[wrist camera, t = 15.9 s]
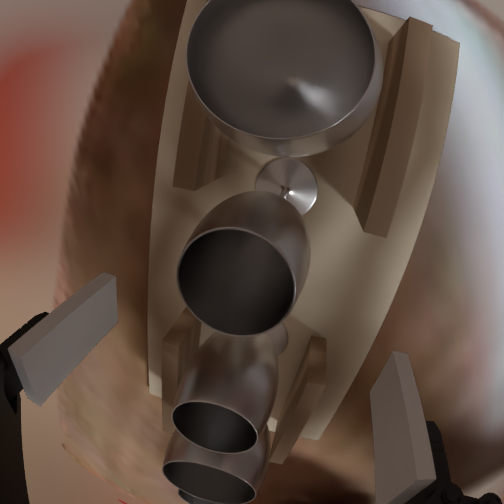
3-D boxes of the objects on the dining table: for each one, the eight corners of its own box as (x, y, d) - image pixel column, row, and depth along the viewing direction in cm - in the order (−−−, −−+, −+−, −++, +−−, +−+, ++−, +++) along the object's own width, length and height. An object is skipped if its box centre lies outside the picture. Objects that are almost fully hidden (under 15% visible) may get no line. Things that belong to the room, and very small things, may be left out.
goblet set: (274, 408, 27) (244, 536, 15) (214, 393, 27) (162, 513, 15) (356, 64, 16) (419, -43, 4) (261, 49, 16) (167, -63, 4)
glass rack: (456, 45, 14) (495, 24, 9) (318, 435, 28) (314, 480, 23) (193, -9, 16) (157, -41, 11) (151, 389, 30) (128, 426, 25)
